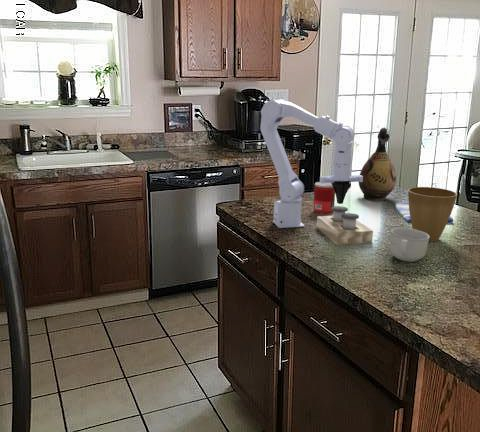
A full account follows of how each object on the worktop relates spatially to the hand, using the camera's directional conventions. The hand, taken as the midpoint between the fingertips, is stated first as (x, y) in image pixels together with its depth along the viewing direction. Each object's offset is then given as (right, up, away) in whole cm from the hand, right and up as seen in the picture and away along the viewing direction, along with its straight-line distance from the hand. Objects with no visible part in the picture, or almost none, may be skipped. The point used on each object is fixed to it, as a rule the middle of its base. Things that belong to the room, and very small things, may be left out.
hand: (339, 203), depth 178 cm
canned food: (-1, -3, +27) cm, 27 cm away
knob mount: (+1, -11, -2) cm, 11 cm away
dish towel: (+36, -5, +24) cm, 44 cm away
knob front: (+2, -8, -7) cm, 11 cm away
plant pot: (+28, -12, -4) cm, 31 cm away
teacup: (+15, -17, -24) cm, 33 cm away
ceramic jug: (+25, +3, +49) cm, 55 cm away
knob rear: (0, -6, +2) cm, 6 cm away
